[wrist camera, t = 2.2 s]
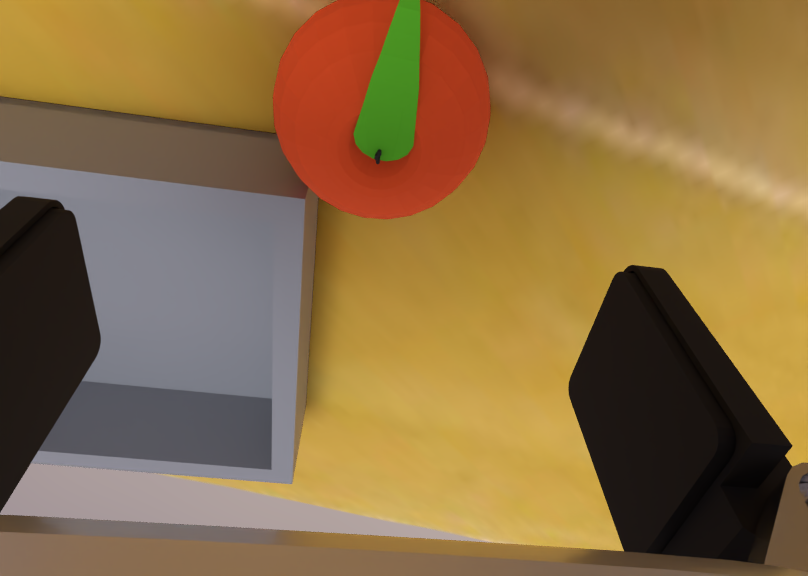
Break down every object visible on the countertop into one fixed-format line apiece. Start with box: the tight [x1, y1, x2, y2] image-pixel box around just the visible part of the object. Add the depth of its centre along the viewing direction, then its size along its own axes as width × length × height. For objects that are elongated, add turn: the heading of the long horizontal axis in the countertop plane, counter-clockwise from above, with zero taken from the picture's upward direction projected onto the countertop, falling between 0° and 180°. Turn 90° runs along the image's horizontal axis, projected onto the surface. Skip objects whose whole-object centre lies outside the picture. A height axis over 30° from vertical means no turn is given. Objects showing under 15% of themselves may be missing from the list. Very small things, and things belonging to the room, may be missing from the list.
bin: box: [0, 97, 319, 484], centre depth 24 cm, size 16×16×5 cm
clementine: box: [273, 0, 490, 219], centre depth 18 cm, size 8×7×7 cm
